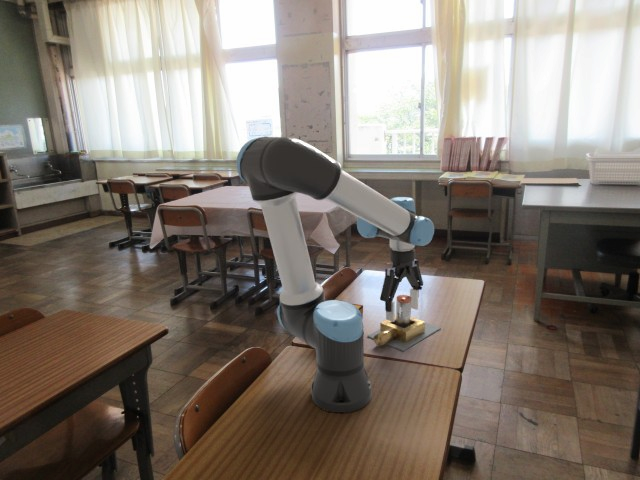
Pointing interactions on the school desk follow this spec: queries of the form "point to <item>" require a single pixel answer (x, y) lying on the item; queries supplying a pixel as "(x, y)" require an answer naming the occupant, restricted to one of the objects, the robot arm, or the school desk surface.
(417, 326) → the fitting socket
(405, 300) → the copper-capped silver cylinder
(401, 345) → the mat
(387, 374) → the school desk surface
